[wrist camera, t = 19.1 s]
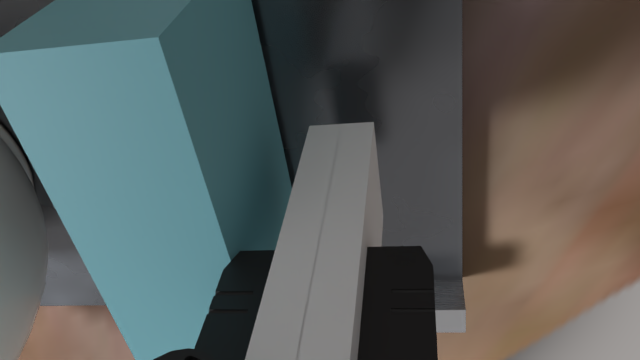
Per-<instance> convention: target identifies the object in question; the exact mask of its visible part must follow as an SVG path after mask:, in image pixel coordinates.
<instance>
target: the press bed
mask: <svg viewBox="0 0 640 360" xmlns="http://www.w3.org/2000/svg"><path fill="white" fill-rule="evenodd" d="M53 1H54V0H0V37H2V36H3V35H5V34H6V33H8V32H9V31H11V30H12V29H14V28H15V27H16V26H18V25H19V24H21V23H22V22H24V21H25V20H27V19H28V18H30V17H31V16H33V15H34V14H35V13H37V12H38V11H40V10H41V9H43V8H44V7H46V6H47V5H49V4H50V3H51V2H53ZM251 2H252V6H253V11H254V15H255V20H256V25H257V29H258V34H259V39H260V43H261V48H262V52H263V57H264V62H265V66H266V71H267V76H268V80H269V85H270V89H271V94H272V99H273V103H274V108H275V112H276V117H277V122H278V126H279V131H280V136H281V140H282V145H283V149H284V154H285V159H286V163H287V168H288V172H289V177H290V182H291V186H292V187H293V184H294V180H295V176H296V173H297V169H298V165H299V162H300V158H301V155H302V151H303V147H304V144H305V140H306V136H307V133H308V129H309V126H314V125H331V124H348V123H364V122H374V129H375V139H376V149H377V158H378V168H379V178H380V188H381V198H382V208H383V229H382V246H421V247H422V248H423V250H424V251H425V253H426V255H427V256H428V258H429V259H430V261H431V263H432V264H433V270H434V292H435V313H436V332H466V308H465V299H464V291H463V282H462V0H251ZM0 124H1V125H2V126H3V127H4V128H5V129H6V130H7V131H8V133H9V134H10V135H11V136H12V138H13V139H14V141H15V142H16V143H17V145H18V146H19V147H20V149H21V151H22V153H23V155H24V156H25V158H26V160H27V162H28V165H29V167H30V170H31V173H32V177H33V181H34V189H35V192H36V195H37V197H38V200H39V203H40V205H41V208H42V211H43V215H44V220H45V225H46V230H47V240H48V268H47V275H46V283H45V289H44V293H43V296H42V300H41V303H40V306H64V305H106V303H105V301H104V300H103V298H102V296H101V294H100V292H99V290H98V288H97V286H96V284H95V283H94V281H93V279H92V277H91V275H90V273H89V271H88V269H87V268H86V266H85V264H84V262H83V260H82V258H81V256H80V254H79V252H78V251H77V249H76V247H75V245H74V243H73V241H72V239H71V237H70V235H69V234H68V232H67V230H66V228H65V226H64V224H63V222H62V220H61V219H60V217H59V215H58V213H57V211H56V209H55V207H54V205H53V203H52V202H51V200H50V198H49V196H48V194H47V192H46V190H45V188H44V186H43V185H42V183H41V181H40V179H39V177H38V175H37V173H36V171H35V170H34V168H33V166H32V164H31V162H30V160H29V158H28V156H27V154H26V153H25V151H24V149H23V147H22V145H21V143H20V141H19V139H18V138H17V136H16V134H15V132H14V130H13V128H12V126H11V124H10V122H9V121H8V119H7V117H6V115H5V113H4V111H3V109H2V107H1V105H0ZM382 246H381V247H382Z"/></svg>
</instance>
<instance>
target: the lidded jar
mask: <svg viewBox="0 0 640 360" xmlns="http://www.w3.org/2000/svg"><path fill="white" fill-rule="evenodd" d="M47 268H48V240H47V230H46V225H45V220H44V215H43V211H42V208H41V205H40V203H39V200H38V197H37V195H36V192H35V189H34V181H33V177H32V173H31V170H30V167H29V165H28V162H27V160H26V158H25V156H24V155H23V153H22V151H21V149H20V147H19V146H18V145H17V143H16V142H15V141H14V139H13V138H12V136H11V135H10V134H9V133H8V131H7V130H6V129H5V128H4V127H3V126H2V125H1V124H0V360H18V359H19V357H20V354H21V352H22V350H23V348H24V346H25V344H26V342H27V339H28V337H29V335H30V333H31V330H32V327H33V324H34V321H35V318H36V315H37V312H38V309H39V306H40V303H41V300H42V296H43V293H44V289H45V283H46V275H47Z"/></svg>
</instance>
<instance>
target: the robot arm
mask: <svg viewBox="0 0 640 360" xmlns="http://www.w3.org/2000/svg"><path fill="white" fill-rule="evenodd" d="M382 229H383V208H382V198H381V188H380V178H379V168H378V158H377V149H376V139H375V129H374V122H364V123H348V124H331V125H314V126H309V129H308V133H307V136H306V140H305V144H304V147H303V151H302V155H301V158H300V162H299V165H298V169H297V173H296V176H295V180H294V184H293V187H292V191H291V194H290V198H289V202H288V205H287V209H286V213H285V216H284V220H283V223H282V227H281V231H280V234H279V238H278V241H277V245H276V249H275V250H252V251H239V253H238V254H237V255H236V256H235V257H234V258H233V259H232V260H231V262H230V263H229V264H228V265H227V266H226V267H225V268H224V269H223V272H222V274H221V277H220V280H219V282H218V285H217V288H216V291H215V296H213V299H212V302H211V304H210V307H209V314H207V315H206V318H205V321H204V323H203V326H202V329H201V331H200V334H199V337H198V340H197V342H196V345H195V348H194V349H191V348H187V349H180V350H174V351H170V352H168V353H166V354H164V355H161V356H159V357H157V358H155V359H153V360H438V357H437V335H436V313H435V292H434V270H433V264H432V263H431V261H430V259H429V258H428V256H427V255H426V253H425V251H424V250H423V248H422V247H421V246H382ZM381 246H382V247H381Z"/></svg>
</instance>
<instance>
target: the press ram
mask: <svg viewBox="0 0 640 360" xmlns="http://www.w3.org/2000/svg"><path fill="white" fill-rule="evenodd" d="M0 105H1V107H2V109H3V111H4V113H5V115H6V117H7V119H8V121H9V122H10V124H11V126H12V128H13V130H14V132H15V134H16V136H17V138H18V139H19V141H20V143H21V145H22V147H23V149H24V151H25V153H26V154H27V156H28V158H29V160H30V162H31V164H32V166H33V168H34V170H35V171H36V173H37V175H38V177H39V179H40V181H41V183H42V185H43V186H44V188H45V190H46V192H47V194H48V196H49V198H50V200H51V202H52V203H53V205H54V207H55V209H56V211H57V213H58V215H59V217H60V219H61V220H62V222H63V224H64V226H65V228H66V230H67V232H68V234H69V235H70V237H71V239H72V241H73V243H74V245H75V247H76V249H77V251H78V252H79V254H80V256H81V258H82V260H83V262H84V264H85V266H86V268H87V269H88V271H89V273H90V275H91V277H92V279H93V281H94V283H95V284H96V286H97V288H98V290H99V292H100V294H101V296H102V298H103V300H104V301H105V303H106V305H107V307H108V309H109V311H110V313H111V315H112V316H113V318H114V320H115V322H116V324H117V326H118V328H119V330H120V332H121V333H122V335H123V337H124V339H125V341H126V343H127V345H128V347H129V349H130V350H131V352H132V354H133V356H134V358H135V360H153V359H155V358H157V357H159V356H161V355H164V354H166V353H168V352H170V351H174V350H180V349H187V348H191V349H194V348H195V345H196V342H197V340H198V337H199V334H200V331H201V329H202V326H203V323H204V321H205V318H206V315H207V314H209V307H210V304H211V302H212V299H213V296H215V291H216V288H217V285H218V282H219V280H220V277H221V274H222V272H223V269H224V268H225V267H226V266H227V265H228V264H229V263H230V262H231V260H232V259H233V258H234V257H235V256H236V255H237V254H238V253H239V251H252V250H275V249H276V245H277V241H278V238H279V234H280V231H281V227H282V223H283V220H284V216H285V213H286V209H287V205H288V202H289V198H290V194H291V191H292V186H291V182H290V177H289V172H288V168H287V163H286V159H285V154H284V149H283V145H282V140H281V136H280V131H279V126H278V122H277V117H276V112H275V108H274V103H273V99H272V94H271V89H270V85H269V80H268V76H267V71H266V66H265V62H264V57H263V52H262V48H261V43H260V39H259V34H258V29H257V25H256V20H255V15H254V11H253V6H252V2H251V0H54V1H53V2H51V3H50V4H49V5H47V6H46V7H44V8H43V9H41V10H40V11H38V12H37V13H35V14H34V15H33V16H31V17H30V18H28V19H27V20H25V21H24V22H22V23H21V24H19V25H18V26H16V27H15V28H14V29H12V30H11V31H9V32H8V33H6V34H5V35H3V36H2V37H0Z"/></svg>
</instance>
